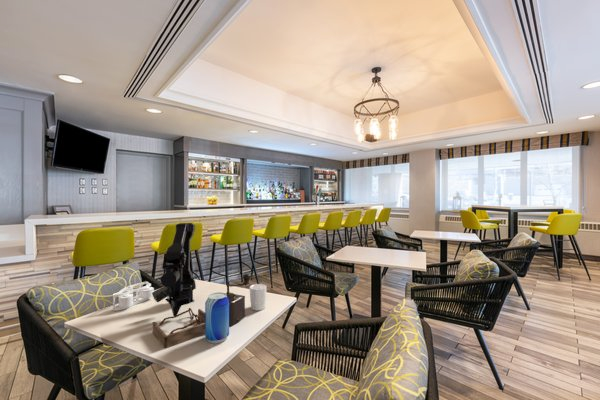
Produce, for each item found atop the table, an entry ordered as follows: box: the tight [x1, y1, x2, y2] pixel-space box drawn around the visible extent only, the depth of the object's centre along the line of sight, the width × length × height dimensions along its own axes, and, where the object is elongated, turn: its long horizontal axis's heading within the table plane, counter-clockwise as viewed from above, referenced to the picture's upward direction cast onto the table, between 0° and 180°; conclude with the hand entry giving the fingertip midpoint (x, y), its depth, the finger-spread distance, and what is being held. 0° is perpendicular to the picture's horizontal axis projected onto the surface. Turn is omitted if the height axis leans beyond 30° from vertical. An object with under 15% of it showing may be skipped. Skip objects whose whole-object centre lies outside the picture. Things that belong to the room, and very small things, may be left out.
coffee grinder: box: [224, 273, 252, 328], centre depth 118 cm, size 16×11×18 cm
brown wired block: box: [152, 308, 205, 349], centre depth 105 cm, size 19×15×4 cm
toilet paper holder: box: [112, 281, 155, 311], centre depth 135 cm, size 20×11×7 cm, turn 156°
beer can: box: [204, 292, 230, 344], centre depth 100 cm, size 8×8×16 cm
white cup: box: [249, 283, 268, 311], centre depth 128 cm, size 8×8×10 cm
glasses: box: [158, 307, 202, 334], centre depth 110 cm, size 13×13×5 cm
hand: (175, 315), depth 116 cm, fingers closed
